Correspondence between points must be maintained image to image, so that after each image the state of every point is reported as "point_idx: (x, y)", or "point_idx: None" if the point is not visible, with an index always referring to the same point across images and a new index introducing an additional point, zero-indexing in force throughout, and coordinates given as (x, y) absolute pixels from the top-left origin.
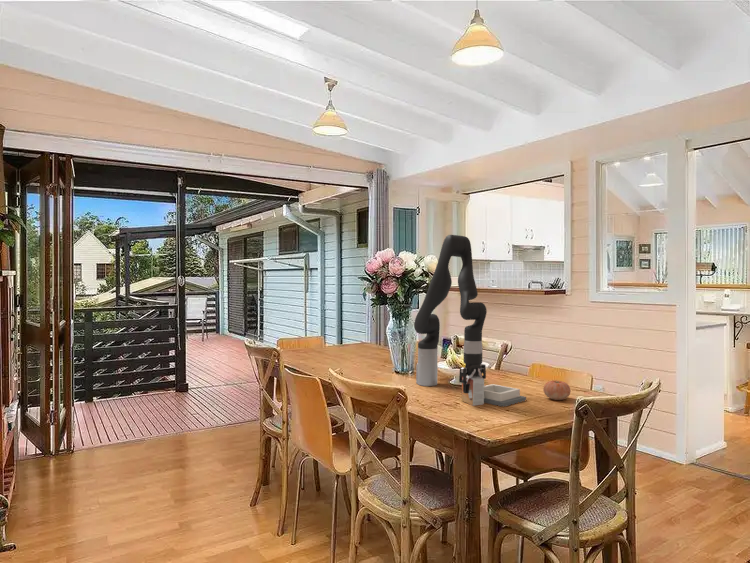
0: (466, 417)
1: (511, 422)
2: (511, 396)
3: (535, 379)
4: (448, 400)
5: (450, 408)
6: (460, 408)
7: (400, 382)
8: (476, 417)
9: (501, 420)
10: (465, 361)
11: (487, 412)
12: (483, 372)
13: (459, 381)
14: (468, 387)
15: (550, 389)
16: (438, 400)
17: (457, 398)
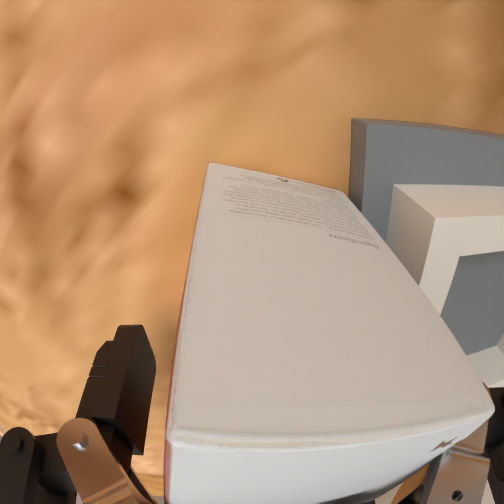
0: (33, 399)
1: (156, 474)
2: None
3: None
4: (124, 57)
5: (7, 276)
6: (62, 311)
7: None
8: (71, 418)
9: (140, 462)
10: None
11: (161, 416)
12: (497, 492)
13: (6, 438)
14: (141, 419)
15: None
16: (49, 19)
17: (276, 44)
